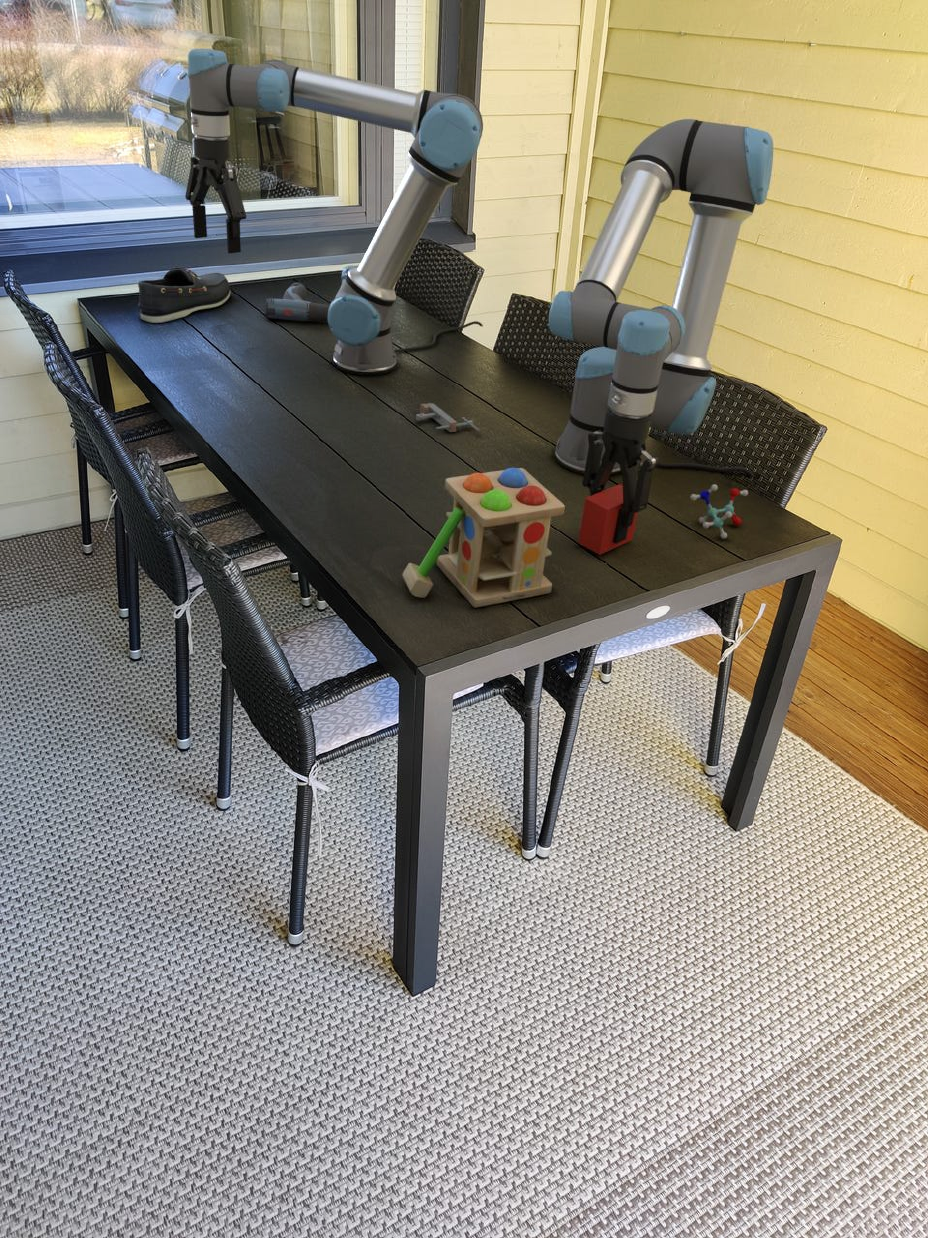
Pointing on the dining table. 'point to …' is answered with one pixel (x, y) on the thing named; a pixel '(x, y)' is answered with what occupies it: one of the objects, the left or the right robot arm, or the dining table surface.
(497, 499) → the pounding bench toy
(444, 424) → the clamp
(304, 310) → the power drill
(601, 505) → the block
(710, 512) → the molecular model
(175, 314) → the boat shoe
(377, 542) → the dining table surface
